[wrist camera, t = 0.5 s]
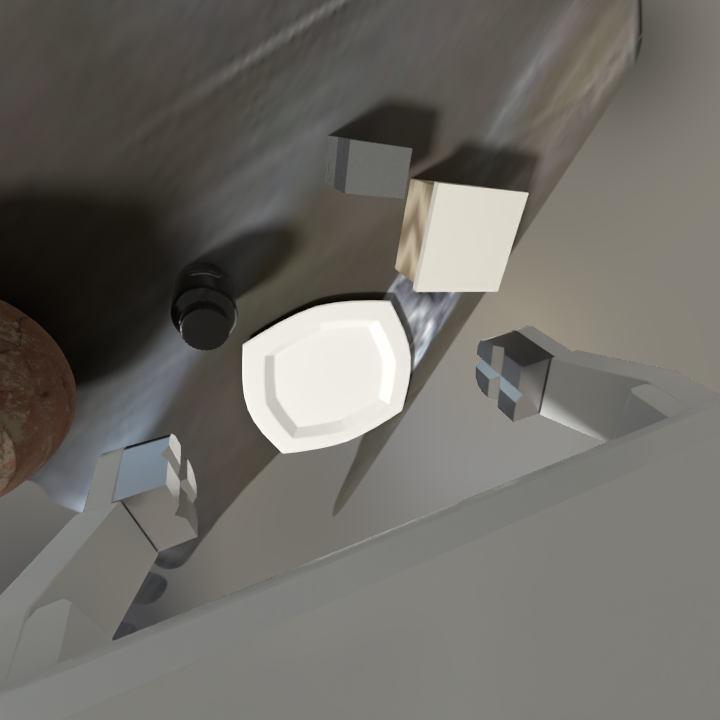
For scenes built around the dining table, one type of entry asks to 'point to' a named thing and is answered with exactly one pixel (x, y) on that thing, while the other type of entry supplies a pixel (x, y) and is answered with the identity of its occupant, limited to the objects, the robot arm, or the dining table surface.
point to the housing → (367, 167)
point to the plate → (327, 374)
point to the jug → (30, 397)
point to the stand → (457, 236)
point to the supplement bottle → (204, 306)
